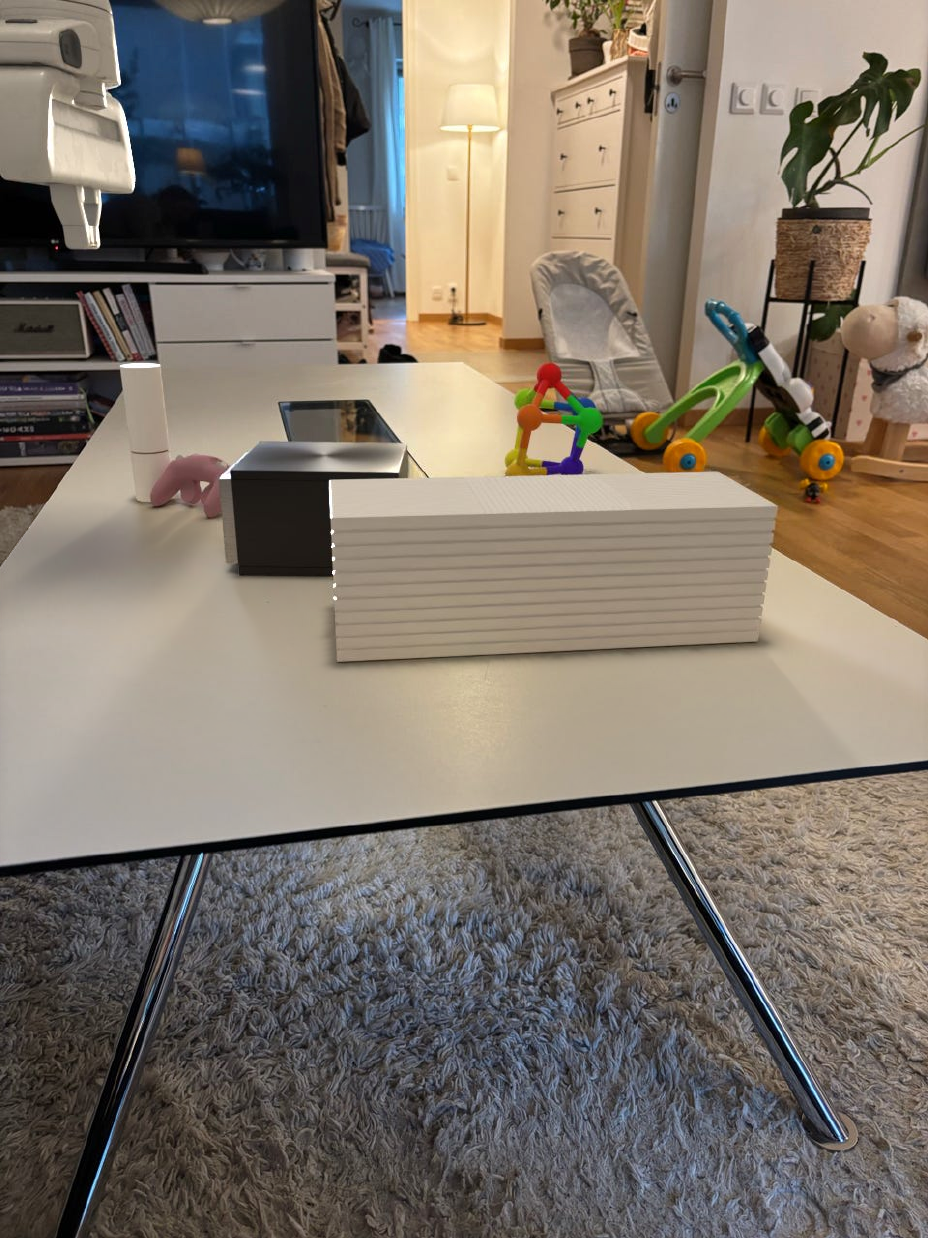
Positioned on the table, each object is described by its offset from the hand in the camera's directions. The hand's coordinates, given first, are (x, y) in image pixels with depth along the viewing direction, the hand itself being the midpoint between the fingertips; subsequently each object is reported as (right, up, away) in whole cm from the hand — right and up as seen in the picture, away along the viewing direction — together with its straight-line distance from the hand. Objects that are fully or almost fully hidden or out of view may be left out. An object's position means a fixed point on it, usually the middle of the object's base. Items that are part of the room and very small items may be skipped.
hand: (83, 249), depth 76 cm
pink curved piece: (+2, -18, +27) cm, 33 cm away
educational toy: (+43, -13, +42) cm, 61 cm away
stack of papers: (+38, -31, -3) cm, 49 cm away
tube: (-4, -17, +31) cm, 35 cm away
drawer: (+16, -24, +12) cm, 31 cm away
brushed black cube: (+19, -25, +12) cm, 33 cm away
